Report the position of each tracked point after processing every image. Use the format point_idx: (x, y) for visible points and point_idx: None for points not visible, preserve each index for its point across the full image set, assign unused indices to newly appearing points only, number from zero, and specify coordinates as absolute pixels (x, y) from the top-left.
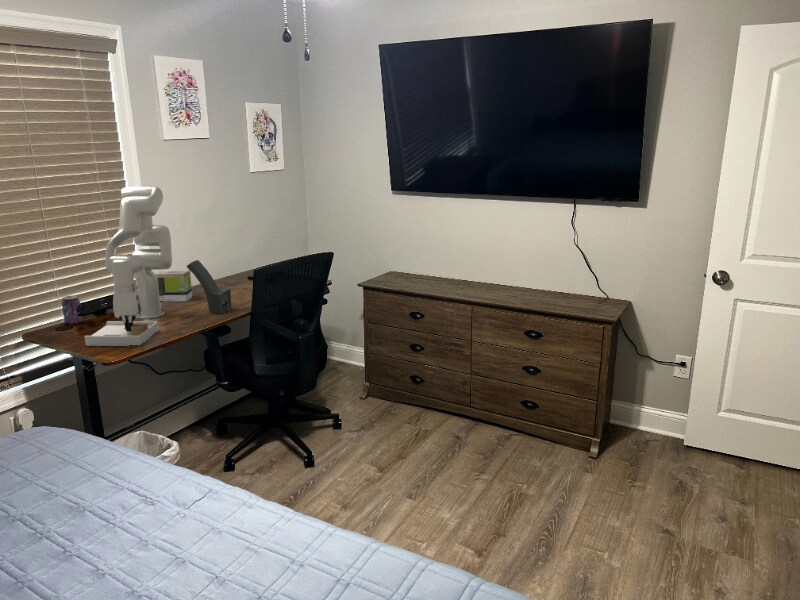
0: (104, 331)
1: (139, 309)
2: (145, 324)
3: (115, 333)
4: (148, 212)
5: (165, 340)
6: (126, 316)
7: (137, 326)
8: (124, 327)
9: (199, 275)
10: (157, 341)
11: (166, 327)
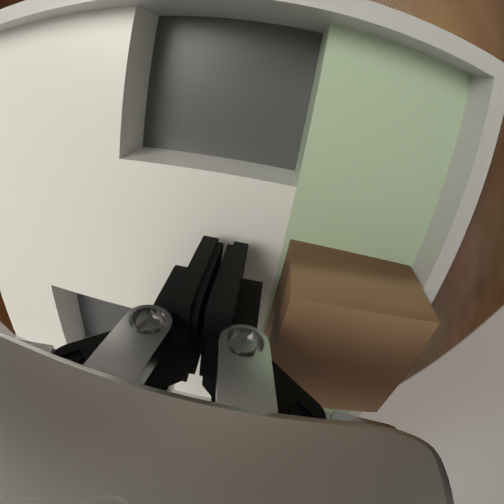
0: (11, 208)
1: (412, 484)
2: (410, 358)
3: (107, 275)
4: None
5: (476, 327)
6: (134, 378)
7: (326, 399)
8: (113, 89)
9: None
10: (435, 339)
11: (499, 12)
